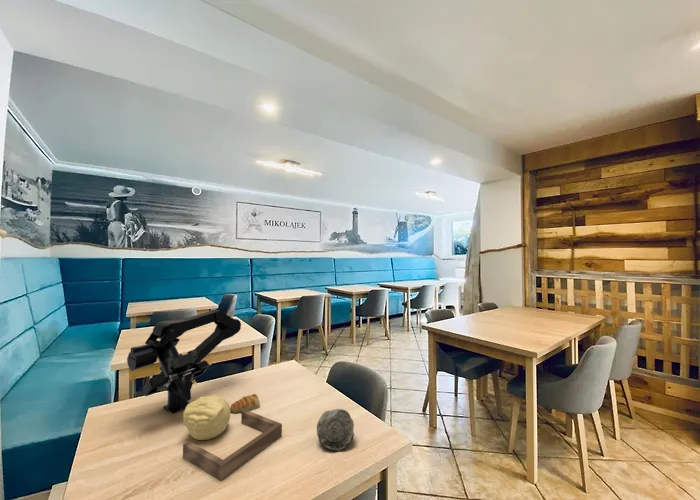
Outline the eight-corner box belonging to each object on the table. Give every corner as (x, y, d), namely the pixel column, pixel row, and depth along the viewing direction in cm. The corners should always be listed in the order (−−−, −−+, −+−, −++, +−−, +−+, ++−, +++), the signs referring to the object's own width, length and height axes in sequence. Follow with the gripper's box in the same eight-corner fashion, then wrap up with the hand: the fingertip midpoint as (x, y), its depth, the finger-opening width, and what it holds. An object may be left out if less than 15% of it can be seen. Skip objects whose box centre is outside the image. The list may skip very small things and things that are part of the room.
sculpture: (176, 444, 83) (176, 405, 83) (203, 420, 95) (203, 386, 95) (214, 448, 81) (215, 408, 81) (237, 423, 93) (237, 388, 93)
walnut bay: (182, 457, 77) (182, 444, 77) (245, 420, 94) (245, 409, 94) (221, 480, 69) (221, 465, 69) (281, 436, 87) (281, 423, 87)
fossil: (325, 457, 77) (317, 414, 81) (314, 455, 84) (308, 415, 88) (361, 443, 82) (353, 403, 86) (348, 442, 89) (341, 406, 93)
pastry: (234, 417, 97) (234, 405, 97) (227, 409, 102) (227, 398, 102) (261, 407, 103) (261, 396, 103) (253, 400, 108) (253, 390, 108)
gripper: (148, 351, 88) (169, 398, 82) (206, 336, 104) (226, 375, 98) (134, 373, 92) (153, 419, 86) (192, 355, 108) (211, 393, 102)
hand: (189, 400), depth 93 cm, fingers closed
